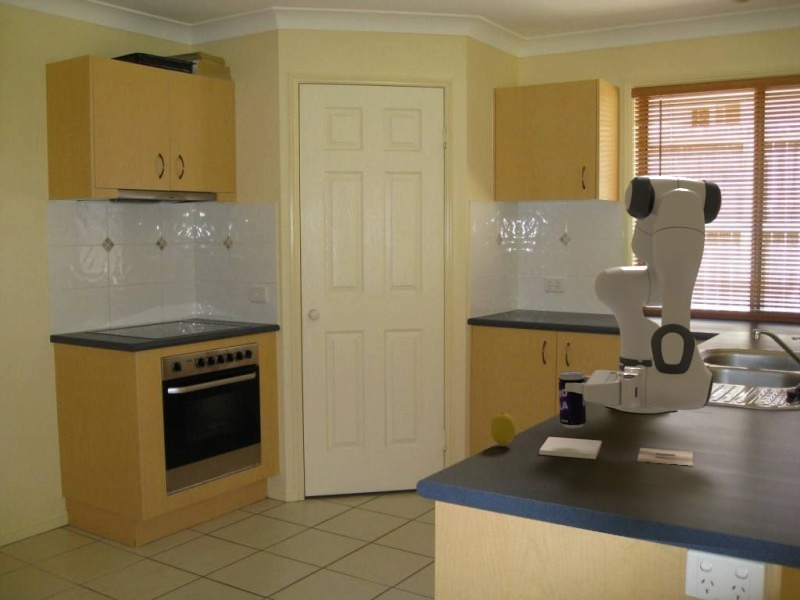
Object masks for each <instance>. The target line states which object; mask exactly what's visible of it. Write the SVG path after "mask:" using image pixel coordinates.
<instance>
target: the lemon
mask: <svg viewBox="0 0 800 600" xmlns="http://www.w3.org/2000/svg"><path fill="white" fill-rule="evenodd" d="M490 435H491V437H492V439H493V440H494V441H495V443H497V444H499V445H500V446H501V447H504V448H505V446H507V445H508V444H510V443H512V441H513V440H514V438H515V435H516V423H515V421H514V418H512V416H511V415H509V414H507V413H506V412H505V411H501V412H500V413H498V414H496V415H495V416H494V417H493V419H492V421H491V425H490Z"/></svg>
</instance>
